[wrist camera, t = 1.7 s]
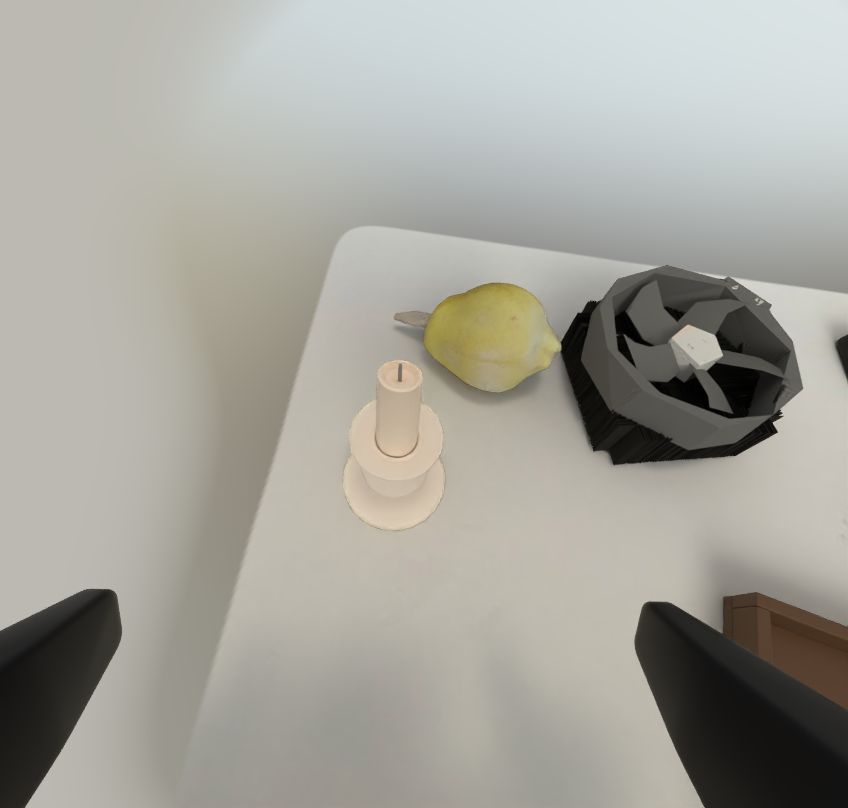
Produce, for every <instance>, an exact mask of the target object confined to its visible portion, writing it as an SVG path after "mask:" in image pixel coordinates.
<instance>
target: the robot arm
mask: <svg viewBox="0 0 848 808" xmlns="http://www.w3.org/2000/svg"><path fill="white" fill-rule="evenodd" d="M121 636H122V626H121V619H120V612H119V605H118V599H117V595H116V593H115V592H114V591H112V590H110V589H86V590H83V591H81V592H79V593H77V594H75V595H73V596H70V597H68V598H66V599H64V600H63V601H60V602H58V603H56V604H54V605H52V606H50V607H48V608H46V609H44V610H42V611H40V612H38V613H36V614H34V615H32V616H30V617H28V618H26V619H24V620H21V621H20V622H17V623H16V624H13V625H11V626H9V627H7V628H5V629H3V630H1V631H0V808H25V806H26V805H27V803H28V802H29V800H30V799H31V797H32V795H33V794H34V793H35V791H36V789H37V788H38V786H39V785H40V783H41V782H42V780H43V779H44V777H45V776H46V774H47V773H48V771H49V769H50V768H51V766H52V765H53V763H54V761H55V760H56V758H57V756H58V755H59V754H60V752H61V750H62V748H63V747H64V745H65V743H66V741H67V740H68V738H69V736H70V735H71V733H72V731H73V729H74V727H75V725H76V724H77V722H78V720H79V718H80V716H81V714H82V712H83V711H84V709H85V707H86V705H87V703H88V701H89V700H90V698H91V696H92V694H93V692H94V690H95V689H96V687H97V685H98V683H99V681H100V679H101V677H102V675H103V674H104V672H105V670H106V668H107V667H108V665H109V663H110V661H111V659H112V657H113V655H114V654H115V652H116V650H117V648H118V646H119V643H120V640H121ZM635 650H636V654H637V657H638V659H639V662H640V664H641V666H642V669H643V671H644V674H645V676H646V679H647V681H648V684H649V686H650V689H651V691H652V693H653V696H654V698H655V701H656V703H657V706H658V708H659V711H660V713H661V715H662V718H663V720H664V723H665V725H666V728H667V730H668V733H669V735H670V737H671V740H672V742H673V744H674V746H675V749H676V751H677V753H678V755H679V757H680V759H681V761H682V764H683V766H684V768H685V770H686V772H687V774H688V776H689V778H690V780H691V782H692V784H693V786H694V787H695V789H696V791H697V793H698V795H699V797H700V799H701V801H702V803H703V805H704V807H705V808H848V710H847V709H845V708H844V707H842V706H840V705H839V704H837V703H835V702H834V701H832V700H830V699H829V698H827V697H825V696H824V695H822V694H820V693H819V692H817V691H816V690H814V689H812V688H811V687H809V686H807V685H806V684H804V683H802V682H801V681H799V680H797V679H796V678H794V677H792V676H791V675H789V674H787V673H786V672H784V671H782V670H781V669H779V668H777V667H776V666H774V665H773V664H771V663H769V662H768V661H766V660H764V659H763V658H761V657H759V656H758V655H756V654H754V653H753V652H751V651H749V650H748V649H746V648H744V647H743V646H741V645H740V644H738V643H736V642H735V641H733V640H731V639H730V638H728V637H726V636H725V635H723V634H721V633H720V632H718V631H716V630H715V629H713V628H711V627H710V626H708V625H706V624H705V623H703V622H702V621H700V620H698V619H697V618H695V617H693V616H692V615H690V614H688V613H687V612H685V611H683V610H682V609H680V608H678V607H677V606H675V605H673V604H672V603H669V602H646V603H645V604H644V605H643V607H642V610H641V614H640V618H639V622H638V627H637V631H636V635H635Z"/></svg>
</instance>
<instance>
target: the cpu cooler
mask: <svg viewBox="0 0 848 808" xmlns="http://www.w3.org/2000/svg"><path fill="white" fill-rule="evenodd" d="M771 306H772V305H771V304H770V303H768V302H766V301H765V300H763V299H762V298H760V297H759V296H757V295H756V294H754V293H753V292H751V291H750V290H748V289H747V288H745V287H744V286H742V285H741V284H739V283H738V282H736V281H735V280H733V279H731V278H730V277H727V278H725V279H717V278H713V277H709V276H706V275H702V274H698V273H694V272H691V271H687V270H683V269H679V268H676V267H672V266H668V265H666V266H662V267H659V268H655V269H652V270H648V271H644V272H641V273H637V274H634V275H630V276H627V277H623V278H619V279H617V281H616V282H615V283H614V284H613V286H612V287H611V288H610V290H609V291H608V292H607V294H606V295H605V296H604V298H603V299H602V300H600V301H598V302H597V303H596V301H595V302H594V301H590V302H589V301H588V303H587V304H586V306H585V308H584V310H583V311H582V313H577V315H576V317H575V318H574V320H573V322H572V324H571V325H570V327H569V329H568V331H567V332H566V334H565V336H564V338H563V339H562V341H561V352H562V353H564V354H563V358H564V362H565V363H566V368H567V370H568V374H569V376H570V377H569V378H571V382H572V384H573V385H572V386H574V387H573V389H574V390H575V391H574V393H576V394H577V395H576V397H577V398H576V399H578V400H577V401H579V403H580V404H579V405H580V407H579V408H581V409H580V411H581V413H582V415H583V416H585V417H584V418H583V420H584V422H586V425H585V427H587V428H586V429H587V432H588V431H589V432H588V434H590V435H589V436H591V437H590V438H591V439H590V438H589V439H590V441H592V442H591V444H592V446H593V447H592V448H593V451H600V450H609V451H610V454H611V457H612V461H613V464H614V465H615V464H616V465H618V464H625V463H626V462H627V464H628V463H629V464H631V463H632V464H633V463H641V462H643V463H644V462H649V461H650V462H651V461H652V462H654V461H655V462H657V461H660V462H661V461H665V460H666V461H667V460H668V461H669V460H670V461H672V460H673V461H674V460H675V459H676V460H677V459H678V460H679V459H681V460H682V459H685V460H686V459H687V460H688V459H691V458H692V459H698V458H700V459H701V458H709V457H712V458H714V457H715V458H716V457H724V456H725V457H726V456H729V455H730V456H736V455H738V454H740V453H742V452H743V451H745V450H747V449H749V448H751V447H752V446H754V445H756V444H758V443H760V442H761V441H763V440H765V439H767V438H769V437H770V436H772V435H774V434H776V433H778V432H777V430H776V428H775V426H774V425H773V423H772V422H774V421H776V420H778V419H780V418H781V417H783V416H779V415H781V414H782V412H780V411H781V410H780V409H781V408H782V407H783V406H784V405H785V404H786V403H788V402H789V401H790V400H791V399H792V398H793V397H794V396H796V395H797V394H798V393H799V392H800V391H801V390H802V389H803V386H802V381H801V377H800V372H799V368H798V363H797V359H796V354H795V350H794V345H793V341H792V340H791V338H790V337H789V336H788V335H787V333H786V332H785V331H784V330H783V328H782V327H781V326H780V324H779V323H778V322H777V321H776V319H775V318H774V317H773V315H772V314H771V312H770V310H769V309H770V308H771ZM583 416H582V417H583Z"/></svg>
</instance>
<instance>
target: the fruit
mask: <svg viewBox="0 0 848 808" xmlns="http://www.w3.org/2000/svg"><path fill="white" fill-rule="evenodd" d="M394 319H395V320H398V321H401V322H402V323H405V324H409V325H413V326H418V327H423V328H425V332H424V340H423V342H424V347H425V348H426V349H427V351H428V352H429V353H430V355H431V356H432V357H433V358H434V359H436V360H437V361H438V362H439V363H441V364H442V365H443V366H444V367H445V368H447V369H448V370H449V371H451V372H452V373H454V374H455V375H456V376H457V377H459V378H460V379H461V380H462V381H464V382H465V383H467V384H469V385H471V386H473V387H475V388H478V389H481V390H485V391H490V392H502V391H506V390H509V389H512V388H513V387H515V386H517V385H518V384H519V383H520V382H521V381H523V380H524V379H525V378H527V377H528V376H530V375H532V374H534V373H537V372H539V371H542V370H545V369H546V368H548V367H549V366H550V365H551V362H552V361H553V359H554V358H555V357H556V355H557V354H558V353H559V352H560V350H561V343H560V342H559V340H558V338H557V335H556V334H555V332H554V331H553V329H552V328H551V327H550V325H549V323H548V320H547V317H546V314H545V311H544V308H543V306H542V304H541V303H540V301H539V300H538V299H537V298H536V297H535V296H534V295H533V294H531V293H530V292H528V291H527V290H525V289H523V288H521V287H518V286H516V285H513V284H507V283H489V284H484V285H481V286H478V287H476V288H474V289H471V290H469V291H467V292H465V293H463V294H458V295H453V296H450V297H448V298H446V299H445V300H444V301H443V302H442V303H440V304H439V305H438V306H437V307H436V308H435V310H434V311H433V313H432V314H430V313H426V312H419V311H411V312H403V313H396V314H395V316H394Z"/></svg>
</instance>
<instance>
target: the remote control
mask: <svg viewBox="0 0 848 808" xmlns="http://www.w3.org/2000/svg"><path fill="white" fill-rule="evenodd" d="M838 348H839V350H840V353H841V356H842V358H843V361H844V364H845V366H846V369H847V372H848V335H846V336H844V337H842V338H840V339H839V340H838Z"/></svg>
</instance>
